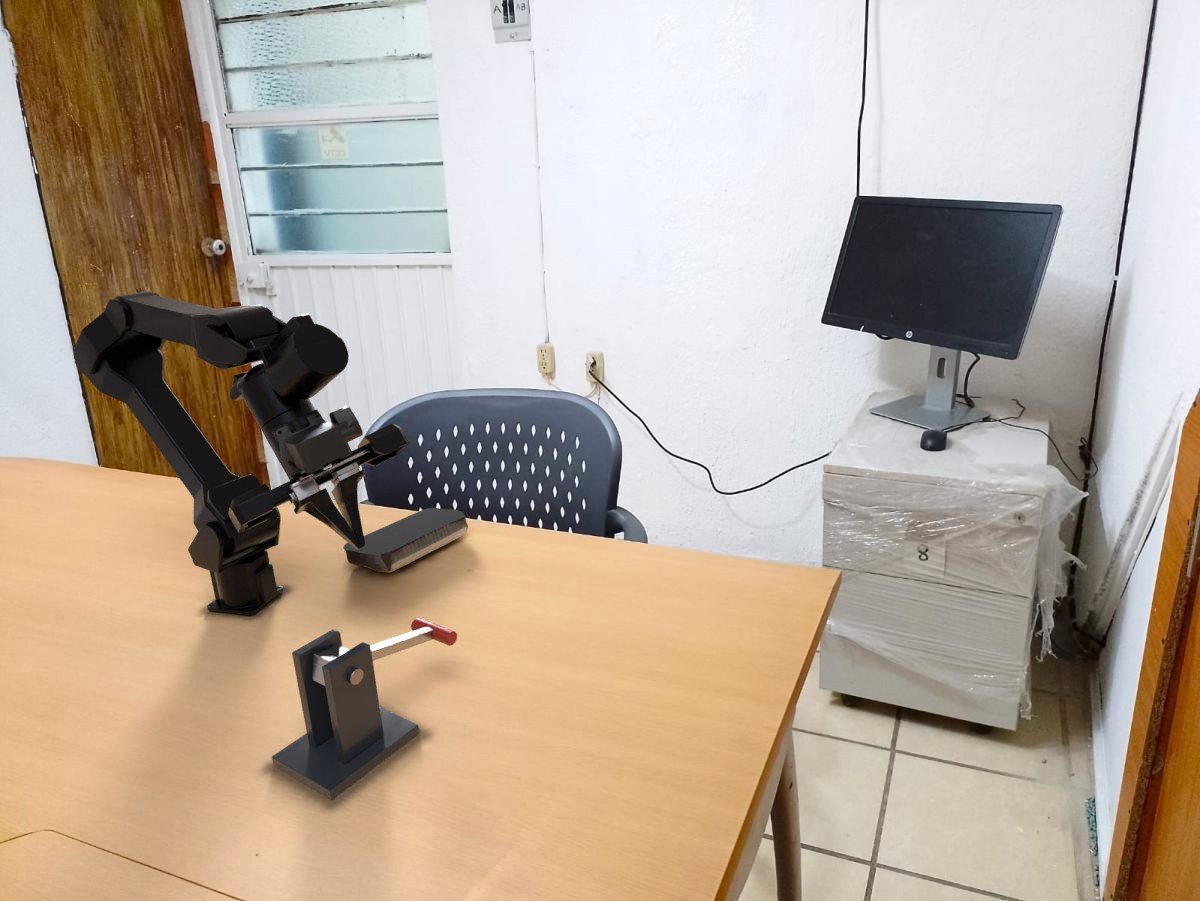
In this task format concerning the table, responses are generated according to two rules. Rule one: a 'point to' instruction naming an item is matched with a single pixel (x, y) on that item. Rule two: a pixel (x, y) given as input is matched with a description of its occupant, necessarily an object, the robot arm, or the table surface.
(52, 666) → the table surface
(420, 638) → the lever
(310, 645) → the bracket
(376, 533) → the whiteboard eraser
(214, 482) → the robot arm
